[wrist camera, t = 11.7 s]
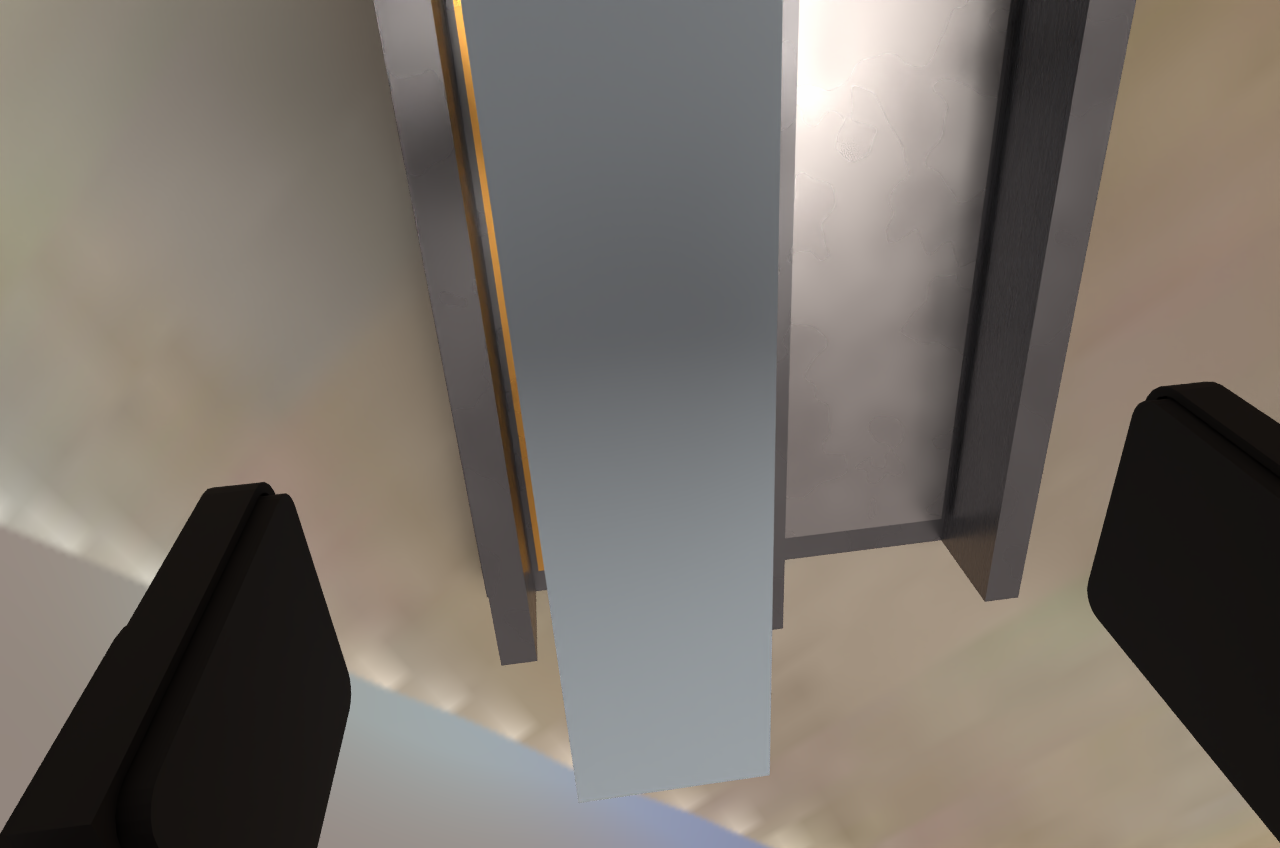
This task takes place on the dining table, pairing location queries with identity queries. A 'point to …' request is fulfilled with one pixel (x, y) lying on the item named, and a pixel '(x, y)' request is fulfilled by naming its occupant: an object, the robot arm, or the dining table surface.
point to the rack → (831, 274)
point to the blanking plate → (644, 361)
